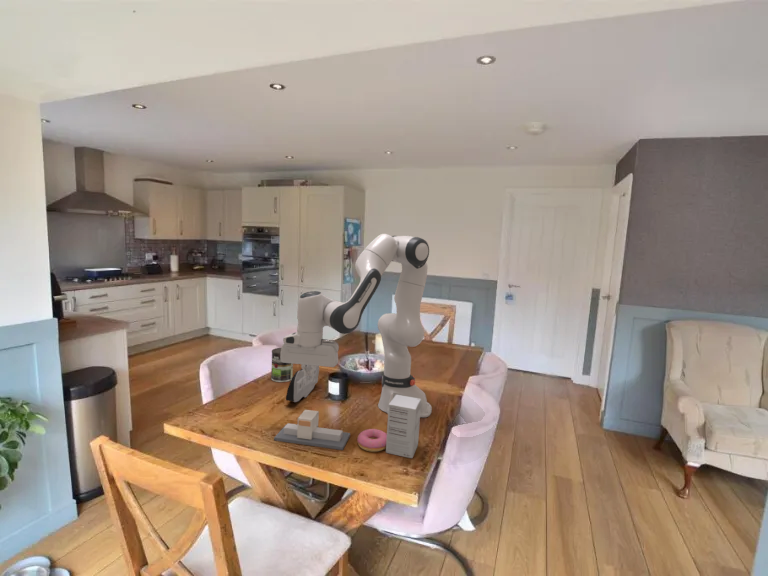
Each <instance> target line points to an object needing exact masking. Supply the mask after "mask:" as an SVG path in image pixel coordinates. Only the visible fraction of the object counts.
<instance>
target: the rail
mask: <svg viewBox="0 0 768 576" xmlns="http://www.w3.org/2000/svg"><path fill="white" fill-rule="evenodd" d="M297 426H298V423H297V424H296V423H288V422H287V424H285V425H284V426H283V428H281V429H280V431H279V432H278V433H277V434H276V435H275V436H274V437H273V441H276V442H283V443H284V442H285V443H291V444H296V445H297V444H299V445H304V446H305V445H306V446H311V447H317V448H325V449H332V450H341V451H344V449H345V447H346V445H347V442H348V441H349V439H350V437H351V432H345V431H343V430H342V429H341V430H340V429H333V428H326V427H319V426H318V427H316V429H315V430H314V431H313V433H312V439H311V440H309V439H302V438H297Z"/></svg>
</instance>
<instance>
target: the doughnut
mask: <svg viewBox="0 0 768 576" xmlns="http://www.w3.org/2000/svg"><path fill="white" fill-rule="evenodd" d="M356 439H357V444H358V446H359V447H360V448H361V450H364V451H366V452H372V453H377V452H381V451H384V450H386V440H387V432H385V431H383V430H381V429H377V428H368V429H364V430H362V431H361V432H360V433H358V435H357V438H356Z"/></svg>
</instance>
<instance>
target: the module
mask: <svg viewBox="0 0 768 576" xmlns="http://www.w3.org/2000/svg"><path fill="white" fill-rule="evenodd" d="M319 415H320V411H319V410H312V409H304V410H303V411H302V413H300V414H299V416H298V417H297V425H298V426H297V438H302V439H309V440H311V439H312V433H313V431H314V430H315V429H316V427H319V418H320V416H319Z"/></svg>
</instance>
